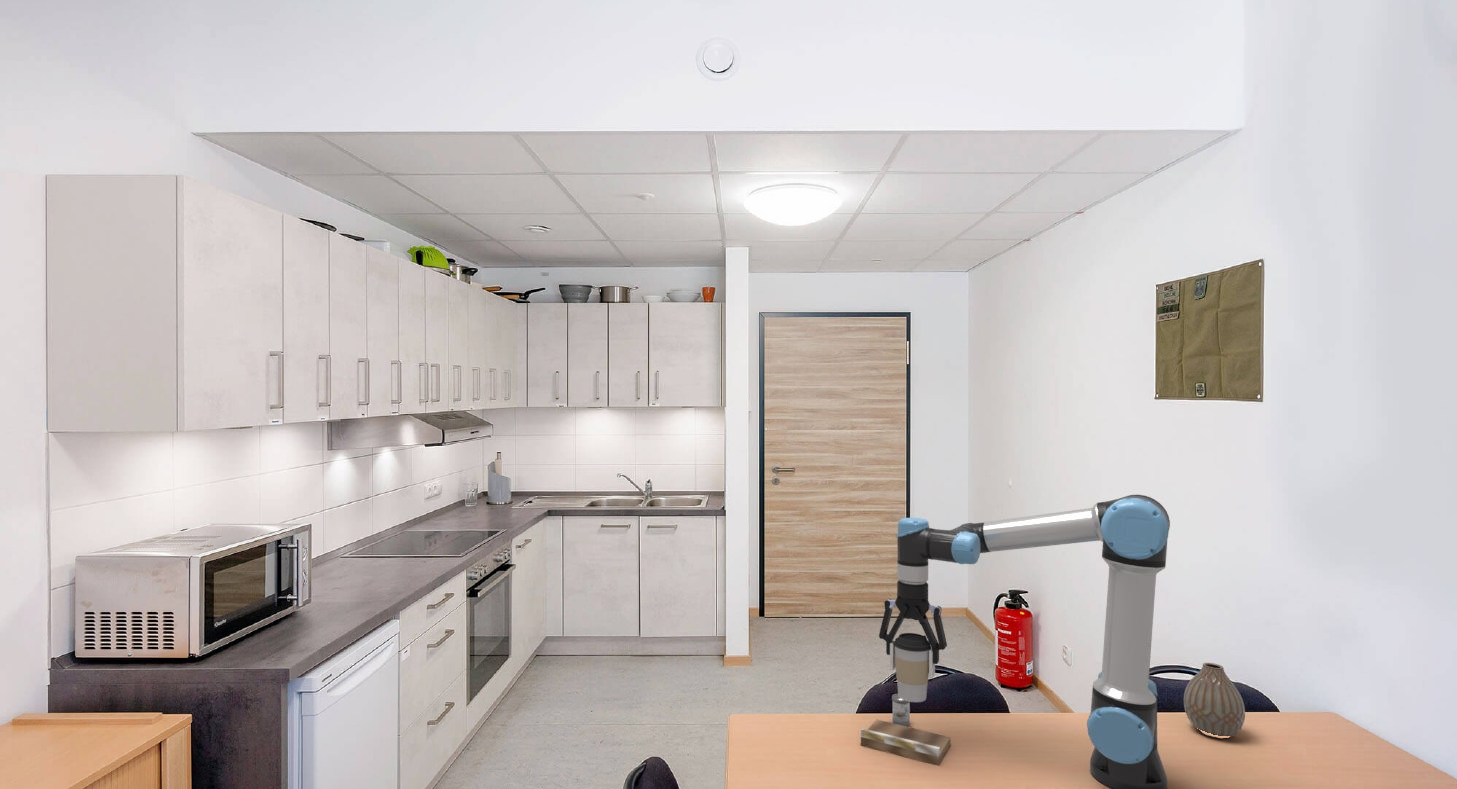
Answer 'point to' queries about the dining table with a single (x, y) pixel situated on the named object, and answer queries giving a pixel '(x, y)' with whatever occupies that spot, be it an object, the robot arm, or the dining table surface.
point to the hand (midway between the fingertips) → (912, 672)
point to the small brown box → (906, 741)
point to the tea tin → (901, 711)
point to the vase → (1214, 702)
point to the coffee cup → (912, 666)
